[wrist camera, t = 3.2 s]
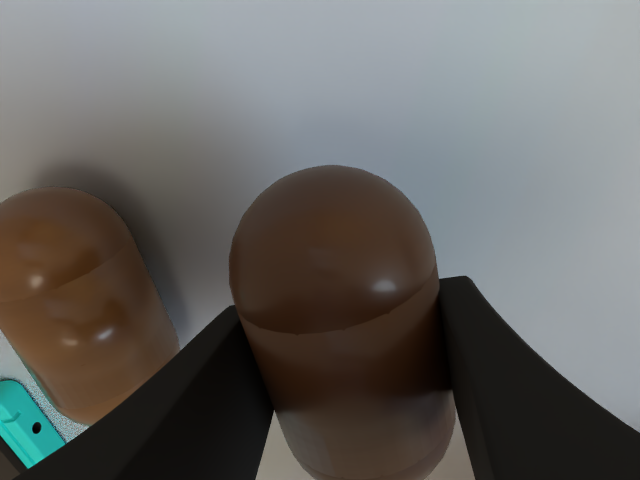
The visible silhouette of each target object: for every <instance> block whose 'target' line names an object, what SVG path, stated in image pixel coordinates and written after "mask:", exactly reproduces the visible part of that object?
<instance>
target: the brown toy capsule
mask: <svg viewBox="0 0 640 480" xmlns="http://www.w3.org/2000/svg"><path fill="white" fill-rule="evenodd" d="M229 285H230V289H231V293H232V297H233V301H234V304H235V307H236V310H237V313H238V315H239V318H240V320H241V323H242V326H243V328H244V331H245V334H246V336H247V339H248V342H249V344H250V347H251V350H252V352H253V355H254V358H255V360H256V363H257V365H258V368H259V371H260V373H261V376H262V379H263V381H264V384H265V387H266V389H267V392H268V395H269V397H270V400H271V403H272V405H273V408H274V410H275V413H276V416H277V418H278V421H279V424H280V426H281V429H282V432H283V434H284V437H285V440H286V442H287V444H288V446H289V448H290V449H291V451H292V453H293V455H294V457H295V458H296V459H297V461H298V462H299V463H300V465H301V466H302V467H303V469H305V470H306V471H307V472H308V473H309V474H310V475H311V476H312V477H313V478H314V479H316V480H423V479H425V478H426V477H427V476H428V475H429V474H430V473H431V472H432V471H433V469H434V468H435V467H436V466H437V464H438V463H439V462H440V461H441V459H442V458H443V456H444V454H445V452H446V450H447V448H448V446H449V443H450V440H451V437H452V434H453V429H454V425H455V420H456V408H455V402H454V398H453V392H452V385H451V378H450V371H449V364H448V357H447V350H446V344H445V337H444V330H443V323H442V316H441V309H440V302H439V295H438V292H439V277H438V270H437V263H436V256H435V251H434V247H433V244H432V240H431V236H430V234H429V231H428V229H427V226H426V224H425V223H424V221H423V219H422V217H421V215H420V213H419V211H418V210H417V209H416V207H415V206H414V205H413V204H412V203H411V202H410V200H409V199H408V198H407V197H406V196H405V195H404V194H403V193H402V192H401V191H400V190H399V189H397V188H396V187H395V186H393V185H392V184H390V183H389V182H388V181H386V180H385V179H383V178H381V177H379V176H376V175H374V174H372V173H369V172H367V171H365V170H362V169H358V168H353V167H346V166H340V165H325V166H317V167H312V168H307V169H304V170H300V171H297V172H294V173H292V174H289V175H287V176H285V177H283V178H281V179H279V180H278V181H276V182H275V183H274V184H272V185H271V186H270V187H268V188H267V189H266V190H265V191H263V192H262V193H261V194H260V195H259V196H258V197H257V198H256V199H255V200H254V202H253V203H252V204H251V206H250V207H249V208H248V210H247V211H246V212H245V213H244V215H243V217H242V219H241V221H240V223H239V225H238V228H237V230H236V232H235V235H234V237H233V240H232V245H231V250H230V254H229Z"/></svg>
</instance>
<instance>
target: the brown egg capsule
mask: <svg viewBox="0 0 640 480" xmlns="http://www.w3.org/2000/svg"><path fill="white" fill-rule="evenodd" d="M0 329H1V331H2V332H3V334H4V335H5V337H6V338H7V340H8V341H9V343H10V344H11V346H12V347H13V349H14V350H15V352H16V353H17V355H18V356H19V358H20V359H21V361H22V362H23V364H24V365H25V367H26V368H27V370H28V371H29V373H30V374H31V376H32V377H33V379H34V380H35V382H36V383H37V385H38V386H39V388H40V389H41V391H42V392H43V394H44V395H45V397H46V398H47V400H48V401H49V402H50V404H51V405H52V406H53V407H54V408H55V409H56V410H57V411H58V412H59V413H61V414H62V415H64V416H65V417H67V418H68V419H70V420H72V421H73V422H76V423H79V424H83V425H86V426H92V425H93V424H94V423H96V422H97V421H99V420H100V419H101V418H103V417H104V416H105V415H107V414H108V413H109V412H110V411H112V410H113V409H114V408H115V407H117V406H118V405H119V404H120V403H122V402H123V401H124V400H125V399H127V398H128V397H129V396H130V395H131V394H132V393H134V392H135V391H136V390H137V389H138V388H139V387H140V386H142V385H143V384H144V383H145V382H146V381H147V380H149V379H150V378H151V377H152V376H153V375H154V374H155V373H157V372H158V371H159V370H160V369H161V368H162V367H163V366H165V365H166V364H167V363H168V362H169V361H170V360H171V359H172V358H173V357H174V356H175V355H176V354H177V353H179V352H180V348H179V341H178V337H177V334H176V331H175V328H174V326H173V324H172V322H171V320H170V318H169V315H168V313H167V311H166V309H165V307H164V305H163V302H162V300H161V298H160V296H159V294H158V292H157V289H156V287H155V285H154V283H153V281H152V279H151V276H150V274H149V272H148V270H147V268H146V266H145V263H144V261H143V259H142V257H141V255H140V253H139V250H138V248H137V246H136V244H135V242H134V240H133V237H132V235H131V233H130V231H129V229H128V228H127V226H126V224H125V223H124V221H123V220H122V218H121V217H120V216H119V215H118V214H117V213H116V212H115V211H114V209H113V208H112V207H110V206H109V205H108V204H106V203H105V202H104V201H102V200H101V199H99V198H97V197H95V196H93V195H91V194H88V193H86V192H83V191H80V190H76V189H72V188H66V187H42V188H35V189H30V190H26V191H23V192H20V193H18V194H15V195H13V196H11V197H9V198H8V199H6V200H5V201H3V202H2V203H0Z"/></svg>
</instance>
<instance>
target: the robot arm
mask: <svg viewBox="0 0 640 480" xmlns="http://www.w3.org/2000/svg"><path fill="white" fill-rule="evenodd" d="M438 295H439V302H440V309H441V316H442V323H443V330H444V337H445V344H446V350H447V357H448V364H449V371H450V378H451V385H452V392H453V398H454V402H455V406H456V409H457V413H458V417H459V420H460V424H461V428H462V432H463V435H464V439H465V443H466V446H467V450H468V454H469V457H470V461H471V465H472V468H473V472H474V476H475V479H476V480H640V433H639V432H638V431H636V430H634V429H633V428H631V427H630V426H628V425H627V424H625V423H624V422H622V421H621V420H620V419H618V418H617V417H616V416H614V415H613V414H611V413H610V412H609V411H607V410H606V409H604V408H603V407H602V406H600V405H599V404H597V403H596V402H595V401H594V400H592V399H591V398H590V397H588V396H587V395H586V394H585V393H583V392H582V391H581V390H579V389H578V388H577V387H575V386H574V385H573V384H572V383H571V382H569V381H568V380H567V379H566V378H564V377H563V376H562V375H561V374H560V373H559V372H557V371H556V370H555V369H554V368H553V367H552V366H550V365H549V364H548V363H547V362H546V361H545V360H544V359H543V358H542V357H541V356H539V355H538V354H537V353H536V352H535V351H534V350H533V349H532V348H531V347H530V346H529V345H528V344H527V343H526V342H525V341H524V340H523V339H522V338H521V337H520V336H519V335H518V334H517V333H516V332H515V331H514V330H513V329H512V328H511V327H510V326H509V325H508V324H507V323H506V322H505V321H504V320H503V319H502V318H501V316H500V315H499V314H498V313H497V312H496V311H495V310H494V308H493V307H492V306H491V305H490V304H489V303H488V301H487V300H486V299H485V298H484V296H483V295H482V294H481V292H480V291H479V290H478V288H477V287H476V286H475V284H474V283H473V281H472V280H471V279H470V278H469V277H467V276H458V277H451V278H443V279H439V292H438ZM273 413H274V408H273V405H272V403H271V400H270V397H269V395H268V392H267V389H266V387H265V384H264V381H263V379H262V376H261V373H260V371H259V368H258V365H257V363H256V360H255V358H254V355H253V352H252V350H251V347H250V344H249V342H248V339H247V336H246V334H245V331H244V328H243V326H242V323H241V320H240V318H239V315H238V313H237V310H236V307H235V305H231V306H229V307H228V308H226V309H225V310H224V311H223V312H222V313H220V314H219V315H218V316H217V317H216V318H215V319H214V320H213V321H212V322H210V323H209V324H208V325H207V326H206V327H205V328H204V329H203V330H202V331H201V332H200V333H199V334H198V335H197V336H196V337H195V338H194V339H192V340H191V341H190V342H189V343H188V344H187V345H186V346H185V347H184V348H183V349H182V350H181V351H180V352H179V353H177V354H176V355H175V356H174V357H173V358H172V359H171V360H170V361H169V362H168V363H167V364H166V365H165V366H163V367H162V368H161V369H160V370H159V371H158V372H157V373H155V374H154V375H153V376H152V377H151V378H150V379H149V380H147V381H146V382H145V383H144V384H143V385H142V386H140V387H139V388H138V389H137V390H136V391H135V392H134V393H132V394H131V395H130V396H129V397H128V398H127V399H125V400H124V401H123V402H122V403H120V404H119V405H118V406H117V407H115V408H114V409H113V410H112V411H110V412H109V413H108V414H107V415H105V416H104V417H103V418H101V419H100V420H99V421H97V422H96V423H94V424H93V425H92V426H90V427H89V428H88V429H86V430H85V431H84V432H82V433H81V434H80V435H78V436H77V437H75V438H74V439H73V440H71V441H70V442H68V443H67V444H65V445H64V446H62V447H61V448H59V449H58V450H56V451H55V452H53V453H52V454H50V455H48V456H47V457H45V458H44V459H42V460H41V461H39V462H38V463H36V464H35V465H33V466H32V467H30V468H29V469H27V470H26V471H24V472H23V473H21V474H20V475H18V476H16V477H15V478H13V479H11V480H255V479H256V475H257V472H258V468H259V465H260V461H261V457H262V454H263V450H264V447H265V443H266V439H267V435H268V432H269V428H270V424H271V420H272V416H273Z"/></svg>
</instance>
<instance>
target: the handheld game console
mask: <svg viewBox="0 0 640 480" xmlns="http://www.w3.org/2000/svg"><path fill="white" fill-rule="evenodd" d="M64 445H65V442H64V441H63V440H62V438H61V437H60V436H59V434H58V433H57V432H56V430H55V429H54V428H53V426H52V425H51V424H50V422H49V421H48V420H47V418H46V417H45V416H44V414H43V413H42V412H41V410H40V409H39V408H38V406H37V405H36V404H35V402H34V401H33V400H32V398H31V397H30V396H29V394H28V393H27V392H26V390H25V389H24V388H23V387H22V385H20V384H19V383H17V382H15V381H12V380H6V381H0V480H11V479H13V478H15V477H16V476H18V475H20V474H21V473H23V472H24V471H26V470H27V469H29V468H30V467H32V466H33V465H35V464H36V463H38V462H39V461H41V460H42V459H44V458H45V457H47V456H48V455H50V454H52V453H53V452H55V451H56V450H58V449H59V448H61V447H62V446H64Z"/></svg>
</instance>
